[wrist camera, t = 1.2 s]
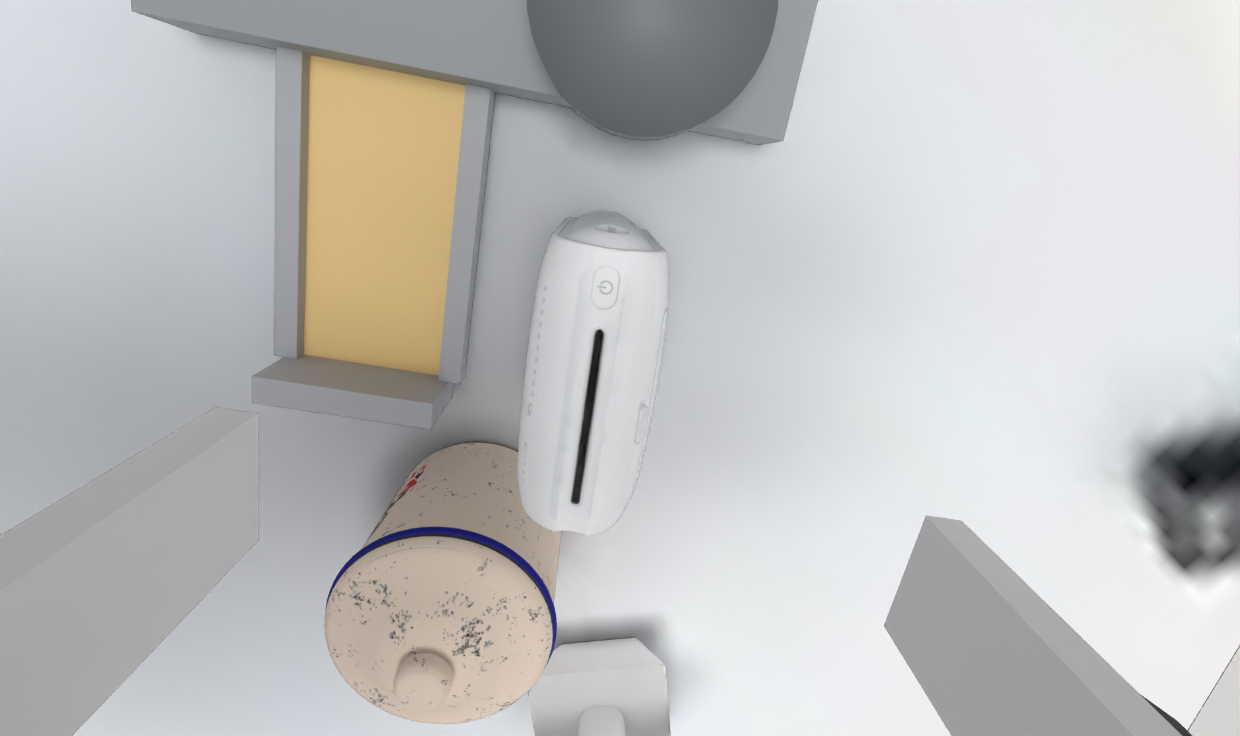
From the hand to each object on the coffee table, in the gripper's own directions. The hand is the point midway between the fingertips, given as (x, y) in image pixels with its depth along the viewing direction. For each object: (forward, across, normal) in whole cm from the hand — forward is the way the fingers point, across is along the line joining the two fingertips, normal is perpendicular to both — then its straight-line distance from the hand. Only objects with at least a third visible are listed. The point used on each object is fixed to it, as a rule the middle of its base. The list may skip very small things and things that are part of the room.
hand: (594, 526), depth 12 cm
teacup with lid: (+18, -4, -13) cm, 23 cm away
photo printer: (+18, 0, 0) cm, 18 cm away
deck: (+18, -6, +5) cm, 20 cm away
